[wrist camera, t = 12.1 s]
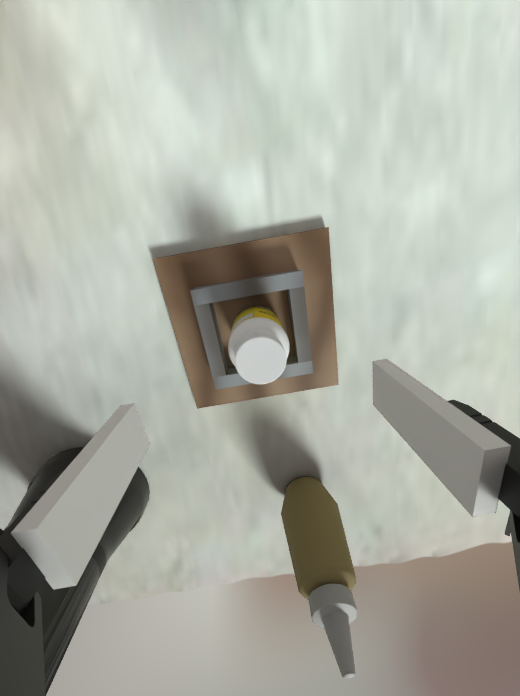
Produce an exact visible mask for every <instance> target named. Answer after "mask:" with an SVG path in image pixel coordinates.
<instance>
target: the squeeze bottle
mask: <svg viewBox="0 0 520 696" xmlns="http://www.w3.org/2000/svg"><path fill="white" fill-rule="evenodd" d="M281 515H282V520H283V524H284V529H285V533H286V537H287V542H288V546H289V551H290V555H291V559H292V564H293V568H294V572H295V577H296V581H297V585H298V590H299V592H300V593H301V594H302V595H303V596H304V597H305V598H306V599H307V600H309V605H310V610H311V617H312V622H313V623H314V624H315V625H316V626H318V627H320V628H323V629H325V630H326V633H327V636H328V639H329V642H330V644H331V647H332V650H333V653H334V655H335V658H336V661H337V664H338V666H339V669H340V672H341V675H342V677H343V678H352V677H354V676H355V666H354V659H353V650H352V642H351V634H350V626H349V624H350V623H351V622H353V621H354V620H355V618H356V616H357V608H356V605H355V601H354V599H353V595H352V592H351V591H352V589H353V587H354V585H355V584H356V577H355V573H354V568H353V564H352V560H351V556H350V552H349V548H348V544H347V540H346V536H345V532H344V528H343V524H342V521H341V517H340V513H339V509H338V505H337V503H336V502H335V500H334V499H333V498H332V496H331V495H330V494H329V492H328V491H327V490H326V489H325V487H324V486H323V485H322V483H321V482H320V481H319V480H317V479H315V478H313V477H301V478H297V479H295V480H293V481H292V482H291V483H290V484H289V485H288V486H287V489H286V492H285V497H284V502H283V507H282V512H281Z"/></svg>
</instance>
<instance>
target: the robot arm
mask: <svg viewBox="0 0 520 696" xmlns="http://www.w3.org/2000/svg"><path fill="white" fill-rule="evenodd" d="M373 405H374V406H375V407H376V408H377V410H378V411H379V412H380V413H381V414H382V415H383V416H384V417H385V419H386V420H387V421H388V422H389V423H390V424H391V425H392V427H393V428H394V429H395V430H396V431H397V432H398V433H399V434H400V436H401V437H402V438H403V439H404V440H405V441H406V442H407V443H408V445H409V446H410V447H411V448H412V449H413V450H414V451H415V452H416V454H417V455H418V456H419V457H420V458H421V459H422V460H423V462H424V463H425V464H426V465H427V466H428V467H429V468H430V469H431V471H432V472H433V473H434V474H435V475H436V476H437V477H438V478H439V480H440V481H441V482H442V483H443V484H444V485H445V486H446V488H447V489H448V490H449V491H450V492H451V493H452V494H453V495H454V497H455V498H456V499H457V500H458V501H459V502H460V503H461V504H462V506H463V507H464V508H465V509H466V510H467V511H468V512H469V514H470V515H471V516H472V517H475V516H481V515H487V514H493V513H496V510H497V506H498V501H499V500H501V501H502V502H503V503H504V504H505V505H506V506H507V507H508V508H509V509H510V514H509V518H508V522H507V526H506V530H505V535H508V536H510V533H511V536H512V542H513V549H514V556H515V563H516V569H517V576H518V583H519V589H520V438H518V437H517V436H515V435H513V434H512V433H510V432H509V431H507V430H506V429H504V428H503V427H501V426H500V425H498V424H497V423H495V422H492V420H490V419H489V418H487V417H486V416H484V415H483V416H482V414H481V413H480V412H478V411H477V410H475V409H473V408H472V407H470V406H469V405H466V404H463V403H461V402H458V401H456V400H450V401H446V400H445V399H443V398H442V397H441V396H439V395H438V394H436V393H435V392H433V391H432V390H430V389H429V388H428V387H426V386H425V385H423V384H422V383H420V382H419V381H418V380H416V379H415V378H413V377H412V376H410V375H409V374H408V373H406V372H405V371H403V370H402V369H400V368H399V367H398V366H396V365H395V364H393V363H392V362H390V361H389V360H387V359H383V360H377V361H373ZM149 445H150V442H149V439H148V437H147V434H146V432H145V429H144V427H143V424H142V422H141V419H140V417H139V414H138V412H137V409H136V407H135V404H134V403H133V404H128V405H122V406H120V407H119V408H118V409H117V410H116V411H115V413H114V414H113V415H112V416H111V417H110V418H109V419H108V421H107V422H106V423H105V424H104V425H103V426H102V428H101V429H100V430H99V431H98V432H97V433H96V435H95V436H94V437H93V438H92V439H91V440H90V442H89V443H88V444H87V445H86V446H85V447H84V448H75V449H70V450H66V451H63V452H61V453H59V454H57V455H55V456H54V457H52V458H51V459H50V460H49V461H48V462H47V463H46V464H45V465H44V466H43V467H42V468H41V469H40V470H39V471H38V472H37V473H36V474H35V476H34V477H33V479H32V480H31V482H30V485H29V487H28V489H27V493H26V494H25V496H24V498H23V499H22V501H21V503H20V505H19V507H18V508H17V510H16V512H15V514H14V516H13V517H12V519H11V521H10V523H9V524H8V526H7V527H6V528H5V529H4V530H2V529H0V696H46V694H47V692H48V690H49V688H50V685H51V683H52V681H53V679H54V677H55V674H56V672H57V670H58V668H59V666H60V663H61V661H62V659H63V657H64V655H65V652H66V650H67V648H68V646H69V644H70V641H71V639H72V637H73V635H74V633H75V630H76V628H77V626H78V624H79V621H80V619H81V617H82V615H83V613H84V611H85V609H86V606H87V604H88V602H89V600H90V598H91V595H92V593H93V591H94V589H95V587H96V584H97V582H98V580H99V578H100V576H101V573H102V571H103V569H104V567H105V565H106V563H107V561H108V559H109V558H110V557H111V555H112V554H113V553H114V551H115V550H116V549H117V547H118V546H119V545H120V544H121V542H122V541H123V540H124V538H125V537H126V536H127V534H128V533H129V532H130V531H131V530H132V529H133V528H134V527H135V526H136V525H137V523H138V522H139V520H140V519H141V517H142V515H143V513H144V510H145V508H146V505H147V503H148V500H149V493H150V492H149V486H148V482H147V480H146V478H145V476H144V475H143V473H142V472H141V471H140V470H139V469H138V466H139V464H140V462H141V460H142V458H143V457H144V455H145V453H146V451H147V449H148V447H149Z"/></svg>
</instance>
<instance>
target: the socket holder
mask: <svg viewBox="0 0 520 696" xmlns="http://www.w3.org/2000/svg"><path fill="white" fill-rule="evenodd" d="M153 262H154V265H155V269H156V272H157V275H158V279H159V282H160V285H161V289H162V292H163V295H164V299H165V302H166V305H167V309H168V312H169V315H170V319H171V322H172V326H173V329H174V332H175V336H176V339H177V342H178V346H179V349H180V352H181V356H182V359H183V362H184V366H185V369H186V372H187V376H188V379H189V382H190V386H191V389H192V392H193V396H194V399H195V402H196V406H197V408H203V407H209V406H215V405H221V404H226V403H232V402H238V401H244V400H250V399H256V398H262V397H268V396H274V395H280V394H286V393H292V392H298V391H304V390H309V389H315V388H321V387H327V386H333V385H339V384H338V368H337V352H336V337H335V321H334V305H333V290H332V274H331V259H330V243H329V227H327V228H322V229H316V230H311V231H305V232H300V233H294V234H288V235H283V236H277V237H272V238H266V239H261V240H255V241H249V242H244V243H238V244H233V245H227V246H222V247H216V248H210V249H205V250H199V251H194V252H188V253H183V254H177V255H171V256H166V257H160V258H155V259H153ZM250 306H263V307H266V308H268V309H270V310H271V311H272V312H274V313H275V315H276V316H277V317H278V319H279V321H280V323H281V325H282V327H283V329H284V330H285V332H286V334H287V337H288V340H289V355H288V358H287V362H286V367H285V369H284V371H283V373H282V374H281V375H280V376H279V377H278V378H277V379H276V380H274V381H272V382H270V383H267V384H254V383H250V382H248V381H246V380H245V379H243V378H242V377H241V376H240V375H239V373H238V371H237V369H236V367H235V366H234V364H233V363H232V361H231V359H230V356H229V352H228V344H229V338H230V334H231V330H232V326H233V322H234V320H235V318H236V316H237V315H238V314H239V313H240V312H241V311H242V310H244V309H245V308H248V307H250Z"/></svg>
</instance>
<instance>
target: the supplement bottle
mask: <svg viewBox="0 0 520 696" xmlns="http://www.w3.org/2000/svg"><path fill="white" fill-rule="evenodd" d="M228 352H229V356H230V359H231V361H232V363H233V364H234V366H235V367H236V369H237V371H238V373H239V375H240V376H241V377H242V378H243V379H245V380H246V381H248V382H250V383H254V384H267V383H270V382H272V381H274V380H276V379H277V378H278V377H279V376H280V375H281V374H282V373H283V371H284V369H285V367H286V362H287V358H288V355H289V340H288V337H287V334H286V332H285V330H284V329H283V327H282V325H281V323H280V321H279V319H278V317H277V316H276V315H275V313H274V312H272V311H271V310H270V309H268V308H266V307H263V306H250V307H248V308H245V309H244V310H242V311H241V312H240V313H239V314H238V315H237V316H236V318H235V320H234V322H233V326H232V330H231V334H230V338H229V344H228Z"/></svg>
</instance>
